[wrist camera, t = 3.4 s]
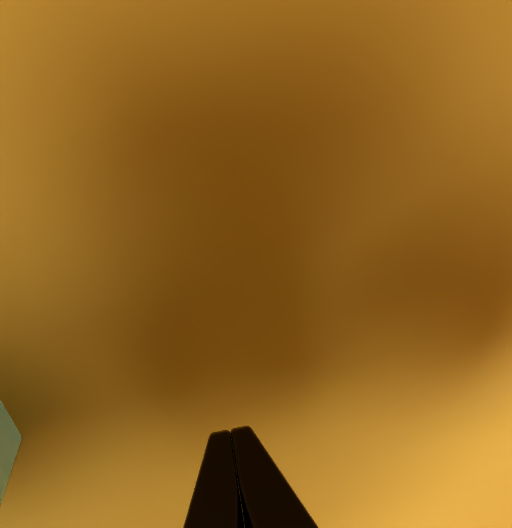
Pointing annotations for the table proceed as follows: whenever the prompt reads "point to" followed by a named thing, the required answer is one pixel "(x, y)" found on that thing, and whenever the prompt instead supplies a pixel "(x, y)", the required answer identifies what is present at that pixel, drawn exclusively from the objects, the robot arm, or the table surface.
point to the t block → (7, 447)
